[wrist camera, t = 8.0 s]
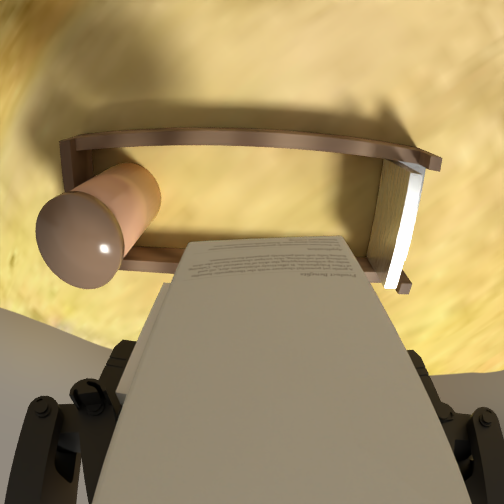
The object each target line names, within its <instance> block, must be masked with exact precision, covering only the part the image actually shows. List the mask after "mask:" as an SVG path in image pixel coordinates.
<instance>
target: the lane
mask: <svg viewBox="0 0 504 504" xmlns="http://www.w3.org/2000/svg"><path fill="white" fill-rule="evenodd" d="M59 143H60V155H61V165H62V174H63V183H64V190H65V192H68V191H71V190H72V189H74V188H76V187H77V186H79V185H81V184H82V183H84V182H86V181H88V180H89V179H91V178H93V177H94V174H93V162H92V149H102V148H117V147H135V146H163V145H227V146H255V147H274V148H290V149H303V150H315V151H325V152H335V153H344V154H353V155H361V156H368V157H376V158H383V159H390V160H396V161H402V162H409V163H414V164H419V165H421V166H423V167H425V168H427V169H429V170H434V171H439V172H440V168H441V163H442V158H441V157H439V156H436V155H434V154H432V153H429V152H427V151H424V150H422V149H420V148H417V147H412V146H406V145H401V144H395V143H389V142H383V141H377V140H370V139H363V138H356V137H348V136H340V135H331V134H322V133H312V132H300V131H287V130H272V129H252V128H157V129H138V130H123V131H111V132H100V133H90V134H81V135H77V136H74V137H71V138H68V139H64V140H61V141H59ZM184 251H185V249H177V248H157V247H136V246H132V248H131V249H130V250H129V251H128V253H127V254H126V255H125V257H124V258H123V261H122V264H121V266H120V268H119V269H118V270H127V271H141V272H155V273H170V274H175V272H176V269H177V267H178V264H179V262H180V260H181V257H182V255H183V253H184ZM355 258H356V260H357V261H358V263H359V265H360V266H361V268H362V270H363V272H364V273H365V275H366V277H367V279H368V280H369V282H371V283H381V281H380V279H379V278H378V276H377V274H376V272H375V271H374V269H373V267H372V265H371V264H370V262H369V260H368V258H364V257H355ZM411 286H412V283H411V281H410V280H409V278H408V277H407V276H406V274H405V273H404V271H403V270H401V273H400V277H399V280H398V283H397V287H396V288H395V289H396V291H397V293H398V294H409V292H410V289H411Z"/></svg>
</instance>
